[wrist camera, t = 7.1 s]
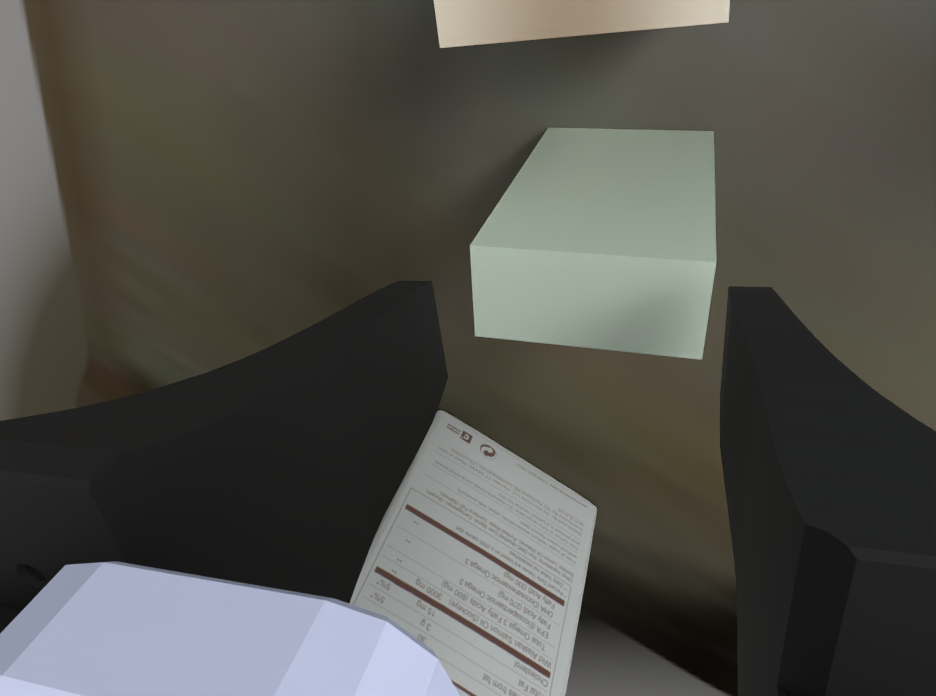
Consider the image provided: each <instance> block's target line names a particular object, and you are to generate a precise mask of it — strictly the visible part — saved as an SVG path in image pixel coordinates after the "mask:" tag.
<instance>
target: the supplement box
mask: <svg viewBox="0 0 936 696" xmlns="http://www.w3.org/2000/svg"><path fill="white" fill-rule="evenodd" d="M596 513H597V508H596V506H594V505H593V504H592V503H591V502H590V501H588V500H587V499H585V498H583V497H582V496H580V495H579V494H577V493H576V492H574V491H573V490H571V489H570V488H568V487H566V486H565V485H563V484H561V483H560V482H558V481H557V480H555V479H554V478H552V477H551V476H549V475H547V474H546V473H544V472H542V471H541V470H539V469H538V468H536V467H534V466H533V465H531V464H530V463H528V462H527V461H525V460H523V459H522V458H520V457H519V456H517V455H515V454H514V453H512V452H510V451H509V450H507V449H506V448H504V447H502V446H501V445H499V444H498V443H496V442H495V441H493V440H491V439H489V438H488V437H486V436H485V435H483V434H481V433H480V432H478V431H477V430H475V429H473V428H472V427H470V426H468V425H467V424H465V423H463V422H462V421H460V420H459V419H457V418H455V417H454V416H452V415H450V414H448V413H447V412H445V411H442V410H439V411H438V412H437V413H436V415H435V417H434V420H433V423H432V425H431V427H430V429H429V431H428V433H427V435H426V437H425V439H424V441H423V443H422V444H421V446H420V448H419V450H418V452H417V454H416V456H415V458H414V460H413V462H412V464H411V466H410V468H409V469H408V471H407V473H406V475H405V477H404V479H403V481H402V483H401V485H400V487H399V489H398V490H397V492H396V494H395V496H394V498H393V500H392V502H391V504H390V506H389V508H388V509H387V511H386V513H385V515H384V517H383V519H382V522H381V524H380V526H379V528H378V530H377V532H376V534H375V537H374V539H373V542H372V544H371V547H370V550H369V552H368V555H367V557H366V560H365V563H364V565H363V568H362V570H361V573H360V576H359V578H358V581H357V583H356V586H355V589H354V592H353V595H352V598H351V600H350V603H349V604H352V605H354V606H357V607H360V608H363V609H366V610H369V611H372V612H375V613H378V614H381V615H383V616H386V617H388V618H390V619H391V620H393V621H394V622H395V623H397V624H398V625H399V626H401V627H402V628H403V629H405V630H406V631H408V632H409V633H410V634H412V635H413V636H414V637H416V638H417V639H418V640H420V641H421V642H423V643H424V644H425V645H427V646H428V647H429V648H431V649H432V650H433V651H434V653H435V654H436V656H437V658H438V659H439V661H440V663H441V664H442V666H443V668H444V670H445V671H446V673H447V675H448V676H449V678H450V680H451V681H452V683H453V685H454V686H455V688H456V690H457V691H458V693H459V695H460V696H565V694H566V689H567V683H568V678H569V671H570V666H571V660H572V655H573V649H574V643H575V637H576V632H577V625H578V620H579V614H580V609H581V603H582V597H583V591H584V585H585V580H586V574H587V568H588V562H589V556H590V550H591V544H592V537H593V531H594V526H595V520H596Z"/></svg>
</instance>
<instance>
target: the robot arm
mask: <svg viewBox="0 0 936 696" xmlns="http://www.w3.org/2000/svg"><path fill="white" fill-rule="evenodd" d="M447 378H448V375H447V369H446V363H445V357H444V351H443V345H442V339H441V333H440V327H439V321H438V315H437V310H436V304H435V298H434V292H433V286H432V281H399V282H396V283H393V284H391V285H388V286H386V287H384V288H382V289H380V290H378V291H376V292H374V293H372V294H370V295H368V296H366V297H364V298H362V299H361V300H359V301H357V302H355V303H353V304H351V305H350V306H348V307H346V308H344V309H342V310H340V311H338V312H337V313H335V314H333V315H331V316H329V317H327V318H326V319H324V320H322V321H320V322H318V323H316V324H314V325H313V326H310V327H308V328H306V329H304V330H302V331H300V332H298V333H296V334H294V335H292V336H290V337H288V338H286V339H284V340H282V341H280V342H278V343H276V344H274V345H272V346H270V347H268V348H266V349H264V350H262V351H259V352H257V353H255V354H253V355H250V356H248V357H246V358H243V359H241V360H238V361H236V362H233V363H231V364H228V365H225V366H223V367H220V368H218V369H215V370H212V371H210V372H207V373H204V374H201V375H198V376H195V377H191V378H188V379H185V380H182V381H179V382H176V383H173V384H169V385H166V386H163V387H160V388H157V389H154V390H150V391H147V392H143V393H139V394H135V395H131V396H127V397H124V398H120V399H116V400H111V401H107V402H102V403H98V404H94V405H89V406H84V407H79V408H75V409H70V410H65V411H59V412H53V413H47V414H40V415H34V416H28V417H23V418H17V419H10V420H5V421H0V696H460V695H459V693H458V691H457V690H456V688H455V686H454V685H453V683H452V681H451V680H450V678H449V676H448V675H447V673H446V671H445V670H444V668H443V666H442V664H441V663H440V661H439V659H438V658H437V656H436V654H435V653H434V651H433V650H432V649H431V648H429V647H428V646H427V645H425V644H424V643H423V642H421V641H420V640H418V639H417V638H416V637H414V636H413V635H412V634H410V633H409V632H408V631H406V630H405V629H403V628H402V627H401V626H399V625H398V624H397V623H395V622H394V621H393V620H391V619H390V618H388V617H386V616H383V615H381V614H378V613H375V612H372V611H369V610H366V609H363V608H360V607H357V606H354V605H352V604H349V603H350V600H351V598H352V595H353V592H354V589H355V586H356V583H357V581H358V578H359V576H360V573H361V570H362V568H363V565H364V563H365V560H366V557H367V555H368V552H369V550H370V547H371V544H372V542H373V539H374V537H375V534H376V532H377V530H378V528H379V526H380V524H381V522H382V519H383V517H384V515H385V513H386V511H387V509H388V508H389V506H390V504H391V502H392V500H393V498H394V496H395V494H396V492H397V490H398V489H399V487H400V485H401V483H402V481H403V479H404V477H405V475H406V473H407V471H408V469H409V468H410V466H411V464H412V462H413V460H414V458H415V456H416V454H417V452H418V450H419V448H420V446H421V444H422V443H423V441H424V439H425V437H426V435H427V433H428V431H429V429H430V427H431V425H432V423H433V420H434V417H435V415H436V412H437V409H438V406H439V403H440V400H441V397H442V394H443V391H444V388H445V385H446V381H447ZM720 449H721V457H722V465H723V473H724V482H725V490H726V497H727V505H728V513H729V521H730V529H731V537H732V544H733V552H734V560H735V573H736V586H737V649H738V696H936V431H934V430H933V429H931V428H929V427H928V426H926V425H924V424H923V423H921V422H920V421H918V420H916V419H915V418H913V417H912V416H910V415H909V414H908V413H906V412H905V411H903V410H902V409H900V408H899V407H898V406H896V405H895V404H893V403H892V402H890V401H889V400H887V399H886V398H885V397H883V396H882V395H880V394H879V393H878V392H876V391H875V390H874V389H872V388H871V387H870V386H869V385H867V384H866V383H865V382H864V381H862V380H861V379H860V378H859V377H858V376H856V375H855V374H854V373H853V372H852V371H851V370H849V369H848V368H847V367H846V366H845V365H844V364H842V363H841V362H840V361H839V360H838V359H837V358H836V357H835V356H834V355H833V354H832V353H831V352H830V351H829V350H828V349H827V348H826V347H825V346H824V345H823V344H822V343H821V342H820V341H819V340H818V339H817V338H816V337H815V336H814V335H813V334H812V333H811V332H810V331H809V330H808V329H807V328H806V327H805V325H804V324H803V323H802V322H801V321H800V320H799V319H798V318H797V316H796V315H795V314H794V313H793V312H792V311H791V309H790V308H789V307H788V306H787V305H786V303H785V302H784V301H783V300H782V299H781V297H780V296H779V295H778V294H777V293H776V292H775V291H774V290H773V289H772V288H771V287H729V289H728V302H727V315H726V328H725V341H724V353H723V366H722V379H721V392H720Z"/></svg>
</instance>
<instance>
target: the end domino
mask: <svg viewBox="0 0 936 696" xmlns="http://www.w3.org/2000/svg"><path fill="white" fill-rule="evenodd" d="M470 258H471V275H472V292H473V309H474V326H475V336H479V337H488V338H498V339H508V340H517V341H527V342H537V343H546V344H556V345H566V346H576V347H585V348H595V349H605V350H614V351H624V352H634V353H643V354H653V355H663V356H672V357H682V358H692V359H701V360H702V356H703V349H704V342H705V336H706V329H707V322H708V315H709V309H710V302H711V295H712V289H713V282H714V275H715V268H716V215H715V164H714V131H684V130H638V129H592V128H548V129H547V130H546V132H545V133H544V135H543V136H542V138H541V139H540V141H539V142H538V144H537V145H536V147H535V148H534V150H533V151H532V153H531V154H530V156H529V157H528V159H527V160H526V162H525V163H524V165H523V166H522V168H521V169H520V171H519V172H518V174H517V175H516V177H515V178H514V180H513V181H512V183H511V184H510V186H509V187H508V189H507V190H506V192H505V193H504V195H503V196H502V198H501V199H500V201H499V202H498V204H497V205H496V207H495V208H494V210H493V211H492V213H491V214H490V216H489V217H488V219H487V220H486V222H485V223H484V225H483V226H482V228H481V229H480V231H479V232H478V234H477V235H476V237H475V238H474V240H473V241H472V243H471V244H470Z"/></svg>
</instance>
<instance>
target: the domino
mask: <svg viewBox="0 0 936 696" xmlns="http://www.w3.org/2000/svg"><path fill="white" fill-rule="evenodd" d="M434 7H435V15H436V22H437V29H438V37H439V44H440V48H446V47H457V46H469V45H480V44H491V43H502V42H513V41H524V40H536V39H547V38H558V37H569V36H580V35H591V34H603V33H614V32H625V31H636V30H647V29H659V28H670V27H681V26H692V25H703V24H714V23H726V22H729V7H730V0H434Z"/></svg>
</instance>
